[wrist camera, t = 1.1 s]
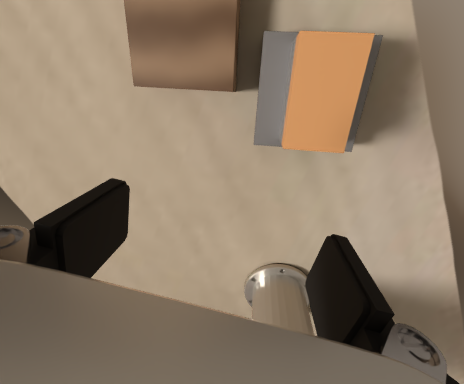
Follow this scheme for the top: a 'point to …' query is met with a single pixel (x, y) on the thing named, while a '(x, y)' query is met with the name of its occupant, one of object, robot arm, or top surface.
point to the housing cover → (324, 89)
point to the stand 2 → (275, 84)
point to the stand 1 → (184, 43)
